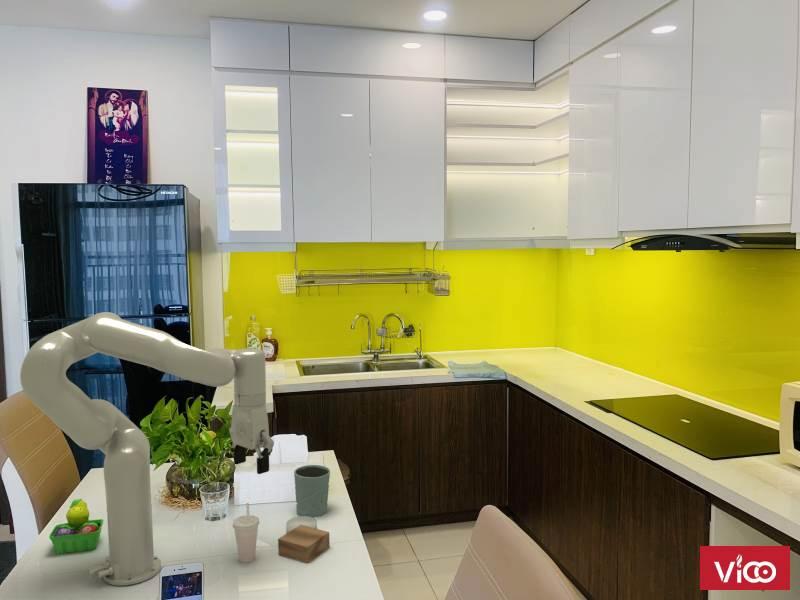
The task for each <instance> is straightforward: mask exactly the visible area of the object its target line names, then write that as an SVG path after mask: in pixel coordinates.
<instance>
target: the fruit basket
mask: <svg viewBox="0 0 800 600" xmlns="http://www.w3.org/2000/svg"><path fill="white" fill-rule="evenodd" d="M65 517H66V520H67V523H66V522H65V523H60V524H57V525H55V526H54V528H53V529H52V531H51V532H50V534H49V536H48V537H49V539H50V541H51V543H52V545H53V548H54V550H55V553H56V555H59V554H64V553H66V554H67V553H75V552H81V551H87V550H88V551H89V550H96V549H97V546H98V543H99V542H100V538H101V533H102V527H103V524H104V519H102V518H100V519H89V518H90V511H89V509H88V504H87V502H86V501H84V500H83V498H78V499H76V498H75V499H74V500H72V502H71V504H70V505H69V509H68V510H67V511H66V514H65Z"/></svg>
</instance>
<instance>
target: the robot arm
mask: <svg viewBox="0 0 800 600" xmlns="http://www.w3.org/2000/svg"><path fill="white" fill-rule="evenodd" d="M97 353H100V354H102V355H106V356H110V357H112V358H113V357H114V358H116V359H117V358H118V359H121V360H125V361H128V362H132V363H136V364H140V365H144V366H146V367H151V368H153V369H156V370H158V371H160V372H163V373H166V374H170V375H172V376H175V377H177V378H180V379H184V380H187V381H190V382H194V383H197V384H198V383H199V384H201V385H205V386H210V387H213V388H214V387H216V388H217V387H224V386H226V385H228V384H230V383H231V382H232V381H233V386H234V387H233V394H234V397H233V402H234V403H233V407H232V411H231V421H230V427H228V431H229V435H230V440H231V442H232V445H231V446H232V449H233V464H234V465H239V464H243V463H246V461H247V449H248V450H251V451H252V450H255V452H256V454H257V457H256V473H257V474H258V475H261V474H265V473H268V472H269V471H270V456H271V455H272V452H273V448H274V445H275V440H273V438H272V437H271V436H270V431H269V430H270V429H269V428H270V427H269V417H268V409H267V406H266V405H267V394H266V393H267V392H266V391H267V389H266V388H267V385H266V384H267V383H266V382H267V381H266V379H267V377H266V373H267V372H266V371H267V370H266V353H265V351H264V350H262V349H260V348H255V347H254V348H253V347H250V348H247V347H246V348H241V349H228V348H212V349H209V350H205V349H202V348H201V349H200V348H197V347H195V346H192V345H189V344H186V343H184V342H182V341H180V340H179V339H177V338H176V337H175V336H172V335H171V334H169V333H168V332H165V331H164V330H159V329H156V328H153V327H150V326H146V325H143V324H138V323H134V322H132V321H129V320H126V319H122V318H121V317H120V316H119V315H118V314H116V313H113V312H109V311H102V312H99V313H96V314H95V313H94V315H92V316H90V317H89V316H88V317H86V318H85V319H82V320H80V321H78V322H75V323H72V324H70V325H68V326H65V327H63V328H60V329H58V330H56V331H53V332H51V333H48V334H46V335H45V336H43V337H42V338H41V339H39V340H38V341H36V342H35V343H34V344H33V345H32V346H31V348H29V349H28V351H27V353H26V355H25V357H24V359H23V361H22V365H21V368H20V377H19V379H20V384H21V388H22V390H23V392H24V394H25V395H26V397H27V398H28V399H29V401H30V402H31V403H32V404H33V405H34V406H35V407H37V408H38V409H39V410H40V411H41V412H42V413H43V414H44V415H46V416H47V418H49V419H50V421H52V423H53V424H54V425H56V426H57V427H58V428H59V429H60V430H61V431H62V432H63V433H65V434H66V436H68V437H69V438H70V439H71V440H72V441H73V442H74V443H75V444H77V446H79V447H80V448H83V449H85V450H92V451H93V450H99V451H101V452H102V453H103V454H104V462H103V477H104V478H103V479H104V487H105V499H106V500H105V501H106V514H107V533H108V534H107V536H108V551H109V552H108V555H107V556H105V557H104V561H103V562H101V564H99V565H95V566H92V567H89V568H87V570H86V572H87V577H88V578H92V577H95V576H97V578H98V579H101V578H102V580H103V581H104V582H105V583H107V584H109V585H112V586H131V585H136V584H139V583H143V582H145V581H148V580H149V579H152V577H154V576H156V575H157V574H158V573H159V572H160V571H161V568H162V561H161V559H160V558H159V557H158V556H155V550H154V529H153V528H154V527H153V509H152V508H153V507H152V489H151V487H152V486H151V445H150V441H149V438H148V437H147V435H146V434H145V433H144V432H143V431H142V430H141V429H140V428H139V427H138V426H137V425H136V424H135V423H134V422H133V421H131V420H130V418H128V417H127V416H126V415H125V414H124V413H123V412H122V411H121V410H119V408H117V407H116V406H115V405H114V404H112V403H111V402H109V401H108V400H105V399H100V398H95V399H91V398H90V397H89V396H88V395H87V394H86V393H85V392H84V391H83V390H82V389H81V388H79V386H78V385H76V384H75V383H73V382H72V381H71V380H69V379H68V377H67V374H66V373H67V370H68V369H69V368H70V366H71V365H73V364H75V363H76V362H79V361H82V360H83V359H85V358H86V359H87V358H88V357H91V356H92V355H95V354H97ZM261 449H263V450H261Z"/></svg>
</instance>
